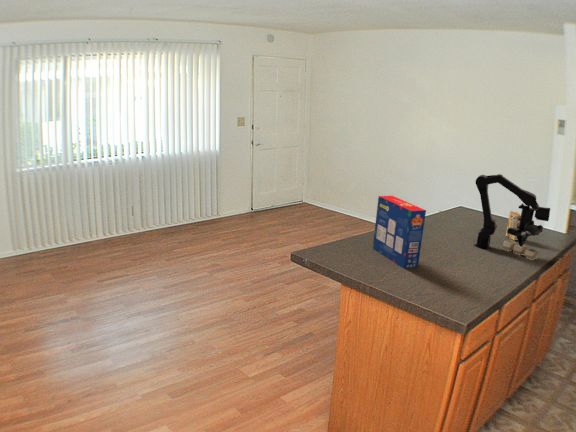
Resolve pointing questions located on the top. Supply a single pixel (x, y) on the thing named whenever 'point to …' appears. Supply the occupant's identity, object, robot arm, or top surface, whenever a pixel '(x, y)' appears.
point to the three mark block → (531, 253)
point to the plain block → (519, 249)
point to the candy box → (513, 223)
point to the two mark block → (509, 245)
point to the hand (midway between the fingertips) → (520, 246)
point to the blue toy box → (399, 231)
